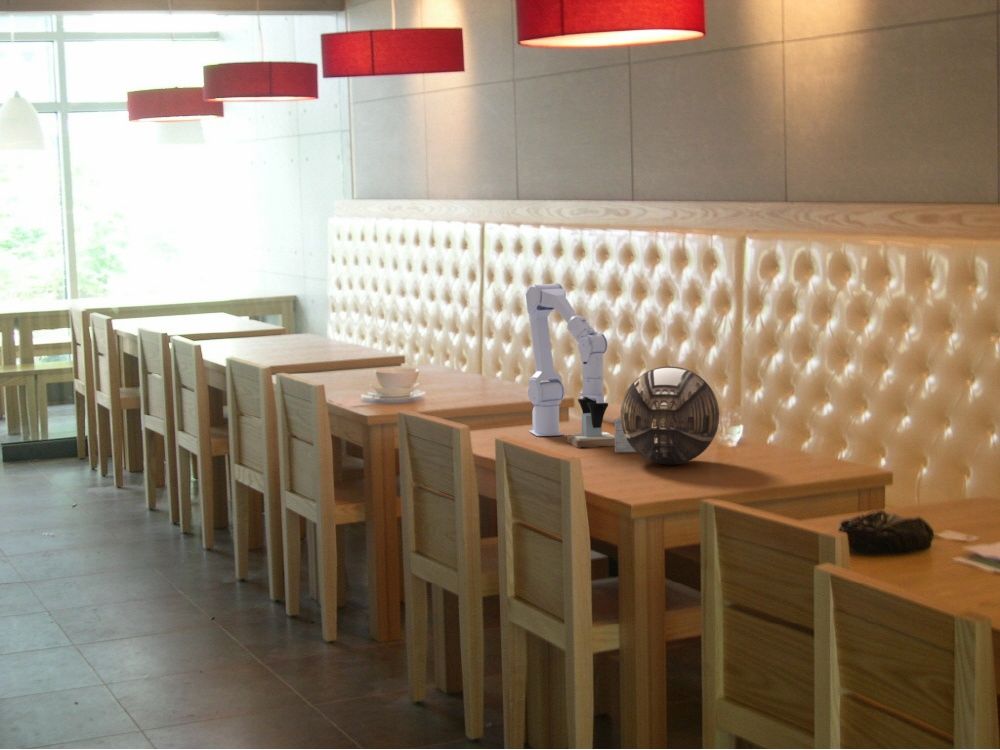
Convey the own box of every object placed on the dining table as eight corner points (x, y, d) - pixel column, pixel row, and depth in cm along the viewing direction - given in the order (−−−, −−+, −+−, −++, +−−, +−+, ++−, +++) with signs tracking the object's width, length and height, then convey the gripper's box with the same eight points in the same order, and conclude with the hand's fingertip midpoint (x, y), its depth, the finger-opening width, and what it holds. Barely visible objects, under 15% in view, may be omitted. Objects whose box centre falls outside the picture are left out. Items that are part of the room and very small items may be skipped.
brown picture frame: (567, 442, 366) (567, 433, 365) (608, 440, 368) (608, 431, 368) (577, 448, 356) (577, 439, 356) (619, 445, 359) (619, 436, 358)
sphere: (723, 456, 340) (724, 362, 337) (713, 474, 316) (713, 373, 313) (629, 453, 347) (629, 360, 344) (612, 470, 323) (612, 371, 320)
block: (581, 434, 364) (581, 413, 363) (597, 433, 365) (596, 412, 364) (586, 436, 359) (586, 415, 358) (601, 436, 360) (601, 414, 359)
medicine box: (644, 450, 352) (644, 418, 351) (644, 453, 347) (644, 421, 346) (614, 450, 353) (614, 418, 352) (614, 452, 348) (614, 421, 347)
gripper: (571, 375, 366) (571, 422, 368) (586, 380, 352) (586, 430, 354) (595, 374, 368) (595, 421, 369) (611, 379, 354) (611, 429, 355)
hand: (592, 425), depth 362 cm, fingers open, 7 cm apart
